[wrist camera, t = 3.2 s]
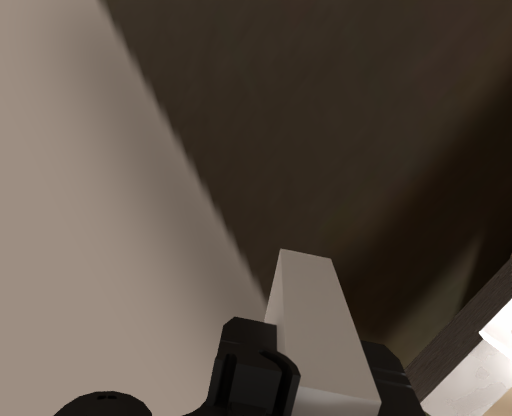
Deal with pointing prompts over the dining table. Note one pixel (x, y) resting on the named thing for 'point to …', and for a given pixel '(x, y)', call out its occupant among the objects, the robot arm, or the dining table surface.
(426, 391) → the tong arm
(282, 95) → the dining table surface
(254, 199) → the dining table surface
